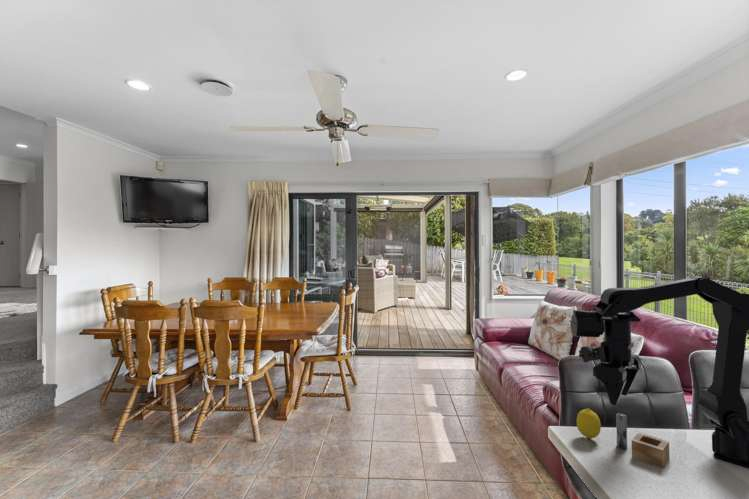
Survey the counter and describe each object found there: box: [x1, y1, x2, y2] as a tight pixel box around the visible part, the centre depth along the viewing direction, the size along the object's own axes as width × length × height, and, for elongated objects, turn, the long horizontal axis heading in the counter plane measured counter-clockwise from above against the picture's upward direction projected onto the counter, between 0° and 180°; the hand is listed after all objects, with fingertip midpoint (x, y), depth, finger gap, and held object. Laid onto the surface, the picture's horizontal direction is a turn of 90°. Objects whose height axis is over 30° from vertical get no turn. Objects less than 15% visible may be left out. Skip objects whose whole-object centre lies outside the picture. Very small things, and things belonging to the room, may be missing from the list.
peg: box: [615, 412, 628, 450], centre depth 91 cm, size 2×2×8 cm
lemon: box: [576, 408, 602, 440], centre depth 95 cm, size 6×6×8 cm
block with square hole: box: [631, 432, 670, 469], centre depth 86 cm, size 6×6×4 cm
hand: (618, 399), depth 91 cm, fingers open, 9 cm apart
